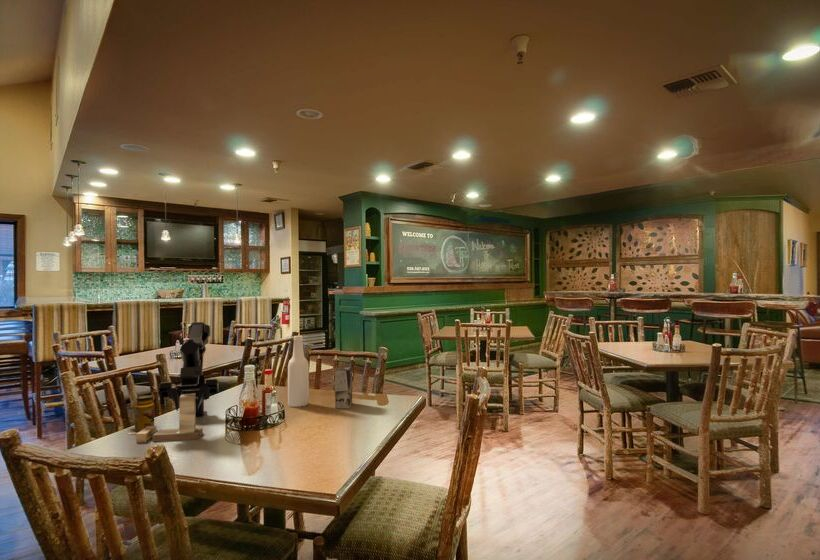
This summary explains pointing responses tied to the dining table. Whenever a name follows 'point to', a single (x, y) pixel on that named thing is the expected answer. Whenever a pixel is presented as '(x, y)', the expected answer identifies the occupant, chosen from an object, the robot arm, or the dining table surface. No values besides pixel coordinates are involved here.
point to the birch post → (187, 413)
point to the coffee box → (343, 387)
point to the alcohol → (298, 376)
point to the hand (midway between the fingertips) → (187, 409)
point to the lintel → (145, 434)
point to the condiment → (143, 413)
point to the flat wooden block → (176, 434)
